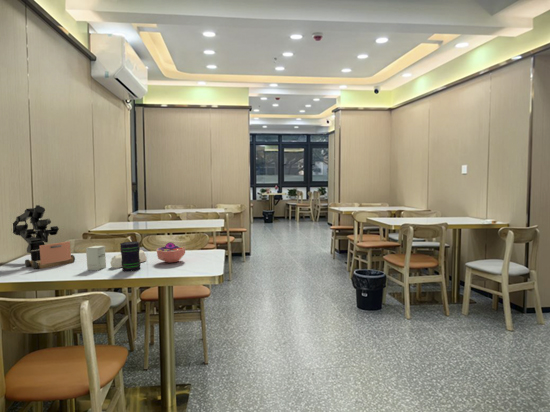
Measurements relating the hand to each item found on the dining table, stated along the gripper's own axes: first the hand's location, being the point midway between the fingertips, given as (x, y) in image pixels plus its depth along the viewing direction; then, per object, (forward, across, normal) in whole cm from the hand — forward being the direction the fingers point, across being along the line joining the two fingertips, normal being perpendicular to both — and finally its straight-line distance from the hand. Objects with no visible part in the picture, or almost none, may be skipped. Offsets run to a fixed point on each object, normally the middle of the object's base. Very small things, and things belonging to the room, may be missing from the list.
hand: (46, 242), depth 256 cm
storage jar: (+56, +16, -36) cm, 68 cm away
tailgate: (+16, 0, 0) cm, 16 cm away
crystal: (+45, +24, -25) cm, 57 cm away
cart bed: (+11, 0, +8) cm, 14 cm away
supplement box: (+41, +8, -21) cm, 46 cm away
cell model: (+58, +40, -39) cm, 81 cm away
